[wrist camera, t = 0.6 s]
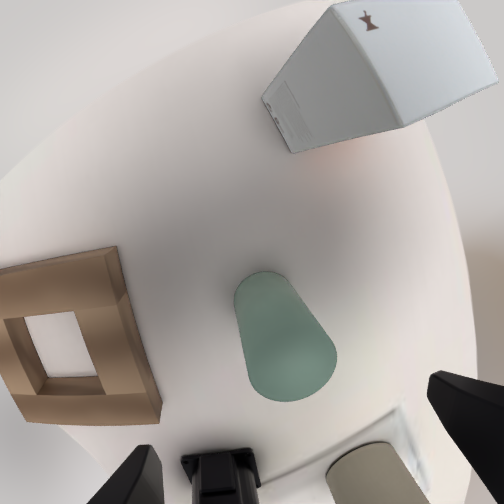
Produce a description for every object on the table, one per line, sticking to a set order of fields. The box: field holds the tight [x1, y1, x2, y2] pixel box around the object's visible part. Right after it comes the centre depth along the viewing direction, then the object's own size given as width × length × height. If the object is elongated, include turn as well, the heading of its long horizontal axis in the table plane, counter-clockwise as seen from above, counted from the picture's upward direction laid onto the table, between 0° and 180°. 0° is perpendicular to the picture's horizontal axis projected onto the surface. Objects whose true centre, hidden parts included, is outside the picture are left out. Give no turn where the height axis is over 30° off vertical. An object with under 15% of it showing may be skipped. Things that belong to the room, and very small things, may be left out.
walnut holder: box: [0, 246, 163, 426], centre depth 19 cm, size 12×12×2 cm
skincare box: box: [262, 0, 499, 154], centre depth 13 cm, size 6×4×12 cm
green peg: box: [234, 272, 337, 402], centre depth 17 cm, size 4×4×8 cm
